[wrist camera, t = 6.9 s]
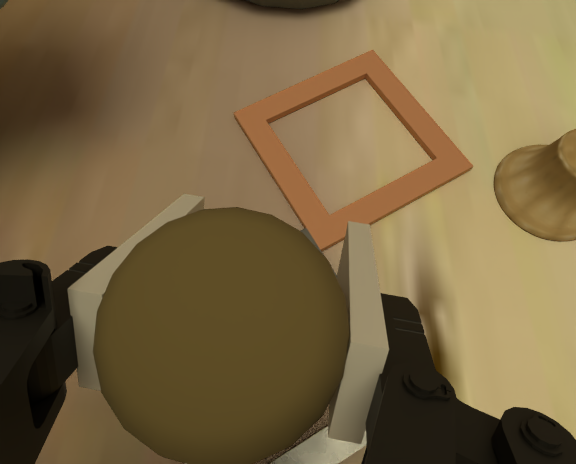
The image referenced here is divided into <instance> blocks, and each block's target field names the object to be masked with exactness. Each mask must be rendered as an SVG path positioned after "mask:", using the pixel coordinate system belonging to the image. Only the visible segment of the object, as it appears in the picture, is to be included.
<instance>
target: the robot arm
mask: <svg viewBox="0 0 576 464" xmlns="http://www.w3.org/2000/svg"><path fill="white" fill-rule="evenodd" d="M7 1H8V0H0V9H1V8H2V7H4V5H5V4H6V3H7ZM203 209H204V197H201V196H195V195H189V194H183V195H182V196H181V197H179V198H178V199H177V200H176V201H174V202H173V203H172V204H171V205H169V206H168V207H167V208H166V209H165V210H163V211H162V212H161V213H160V214H158V215H157V216H156V217H155V218H154V219H152V220H151V221H150V222H149V223H147V224H146V225H145V226H144V227H142V228H141V229H140V230H139V231H138V232H136V233H135V234H134V235H133V236H131V237H130V238H129V239H128V240H127V241H125V242H124V243H123V244H122V245H120V246H119V247H118V248H117V247H112V246H106V247H103V248H101V249H98V250H96V251H93V252H91V253H89V254H88V255H87V256H85V257H84V258H83V259H81V260H80V261H79V263H76V264H75V265H73V266H72V267H71V268H69V271H68V270H67V271H65V272H64V273H63V274H61V275H60V276H59V277H57V278H56V279H55V280H53V281H51V273H50V269H49V268H48V266H47V265H46V264H44V263H42V262H40V261H34V260H12V261H7V262H1V263H0V464H35V462H36V460H37V458H38V456H39V453H40V451H41V449H42V447H43V445H44V443H45V441H46V439H47V436H48V434H49V432H50V430H51V428H52V426H53V424H54V422H55V419H56V417H57V415H58V413H59V411H60V409H61V407H62V405H63V402H64V400H65V397H66V392H67V390H66V383H65V381H66V380H67V379H68V377H69V376H70V375H71V374H72V373H73V372H74V371H75V369H76V368H77V374H78V382H79V387H84V388H89V389H94V390H99V391H101V388H100V383H99V379H98V374H97V369H96V365H95V360H94V356H93V344H94V334H95V324H96V315H97V310H98V307H99V305H100V303H101V300H102V298H103V295H104V293H105V291H106V288H107V286H108V283H109V281H110V279H111V276H112V274H113V273H114V272H115V270H116V269H117V268H118V267H119V265H120V264H121V263H122V262H123V260H124V259H125V258H126V257H127V255H128V254H129V253H130V252H131V250H132V249H133V248H134V247H135V246H136V244H137V243H139V242H140V241H142V240H143V239H144V238H146V237H147V236H149V235H150V234H151V233H153V232H154V231H156V230H157V229H158V228H160V227H161V226H163V225H164V224H165V223H167V222H169V221H172V220H174V219H177V218H180V217H183V216H185V215H188V214H191V213H194V212H197V211H199V210H203ZM337 280H338V282H339V284H340V287H341V289H342V291H343V293H344V295H345V297H346V305H347V313H348V321H349V329H350V339H349V345H348V352H347V358H346V364H345V369H344V375H343V378H342V380H341V382H340V384H339V386H338V388H337V390H336V391H335V393H334V395H333V397H332V399H331V401H330V403H329V422H328V438H332V439H337V440H342V441H347V442H352V443H356V444H361V443H362V440H363V437H364V433H365V430H366V441H367V447H366V450H365V454H364V457H363V460H362V464H576V440H575V439H574V437H573V436H572V435H571V433H570V432H568V431H567V430H566V429H565V428H564V427H562V426H561V425H560V424H559V423H558V422H556V421H555V420H553V419H551V418H549V417H548V416H546V415H544V414H542V413H540V412H537V411H534V410H531V409H528V408H520V407H513V408H510V409H508V410H505V412H504V414H503V416H502V417H501V419H497V418H495V417H493V416H490V415H488V414H486V413H484V412H481V411H479V410H477V409H474V408H472V407H470V406H468V405H466V404H465V403H463V402H461V401H460V400H458V399H457V398H456V394H455V390H454V388H453V387H452V386H451V384H450V383H449V382H448V380H447V379H446V378H445V377H443V376H442V375H441V374H440V373H438V372H437V371H436V370H435V367H434V363H433V360H432V356H431V353H430V350H429V346H428V343H427V339H426V336H425V335H424V329H423V326H422V324H421V319H420V316H419V312H418V310H417V308H416V307H415V306H414V305H413V304H412V303H411V302H410V301H409V299H408V298H404V297H399V296H393V295H388V294H382V293H380V287H379V281H378V274H377V268H376V261H375V255H374V248H373V242H372V235H371V229H370V225H369V224H363V223H357V222H351V221H348V224H347V229H346V234H345V239H344V244H343V249H342V254H341V259H340V263H339V268H338V273H337Z"/></svg>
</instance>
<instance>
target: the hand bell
mask: <svg viewBox="0 0 576 464" xmlns="http://www.w3.org/2000/svg"><path fill="white" fill-rule="evenodd" d="M494 190H495V194H496V197H497V200H498V202H499V204H500V206H501V208H502V209H503V211H504V212H505V213H506V214H507V216H508V217H509V218H510V219H511V220H512V221H513V222H514V223H515V224H517V225H518V226H519V227H521V228H522V229H524V230H525V231H527V232H529V233H531V234H533V235H535V236H538V237H540V238H544V239H548V240H554V241H571V240H576V129H574V130H571V131H569V132H567V133H566V134H564V135H563V136H562V137H560V138H559V139H558V140H556V141H555V142H553V143H552V144H550V145H531V146H526V147H522V148H519V149H517V150H515V151H513V152H511V153H510V154H508V155H507V156H506V157H505V158H504V159H503V160H502V161H501V162H500V164H499V165H498V167H497V170H496V173H495V177H494Z"/></svg>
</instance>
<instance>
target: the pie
mask: <svg viewBox="0 0 576 464" xmlns="http://www.w3.org/2000/svg"><path fill="white" fill-rule="evenodd" d="M247 1H249V2H252V3H255V4H258V5H260V6H269V7H282V8H294V9H304V8H310V7H316V6H322V5H328V4H333V3H336V2H337V1H339V0H247Z"/></svg>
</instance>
